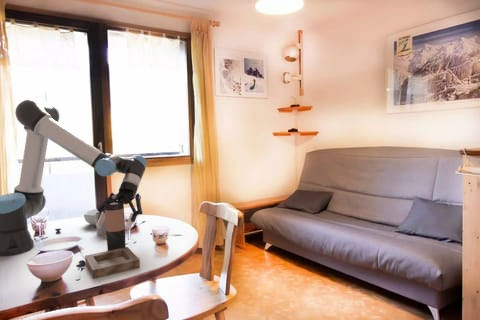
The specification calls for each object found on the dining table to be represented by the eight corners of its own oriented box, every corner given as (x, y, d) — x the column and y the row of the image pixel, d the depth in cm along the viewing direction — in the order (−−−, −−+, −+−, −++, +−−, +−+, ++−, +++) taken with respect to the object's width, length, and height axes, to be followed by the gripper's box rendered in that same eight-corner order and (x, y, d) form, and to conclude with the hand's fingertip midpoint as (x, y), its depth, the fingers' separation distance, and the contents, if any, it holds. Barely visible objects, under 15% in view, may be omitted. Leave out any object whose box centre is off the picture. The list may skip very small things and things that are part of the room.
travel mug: (129, 247, 147) (127, 201, 145) (114, 253, 141) (111, 205, 139) (118, 244, 151) (116, 199, 149) (103, 250, 145) (100, 203, 143)
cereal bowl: (122, 219, 193) (121, 206, 192) (113, 228, 176) (112, 214, 176) (91, 220, 192) (90, 207, 191) (79, 229, 175) (78, 215, 175)
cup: (108, 235, 164) (107, 215, 163) (93, 234, 166) (92, 214, 165) (118, 230, 173) (117, 210, 172) (103, 229, 174) (102, 210, 173)
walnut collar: (93, 278, 118) (92, 270, 118) (85, 263, 131) (84, 255, 131) (139, 267, 126) (139, 259, 126) (128, 254, 140) (127, 246, 140)
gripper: (158, 190, 156) (144, 233, 143) (108, 189, 162) (90, 230, 149) (152, 181, 151) (137, 224, 138) (101, 180, 156) (81, 221, 143)
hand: (112, 227), depth 143 cm, fingers open, 13 cm apart
